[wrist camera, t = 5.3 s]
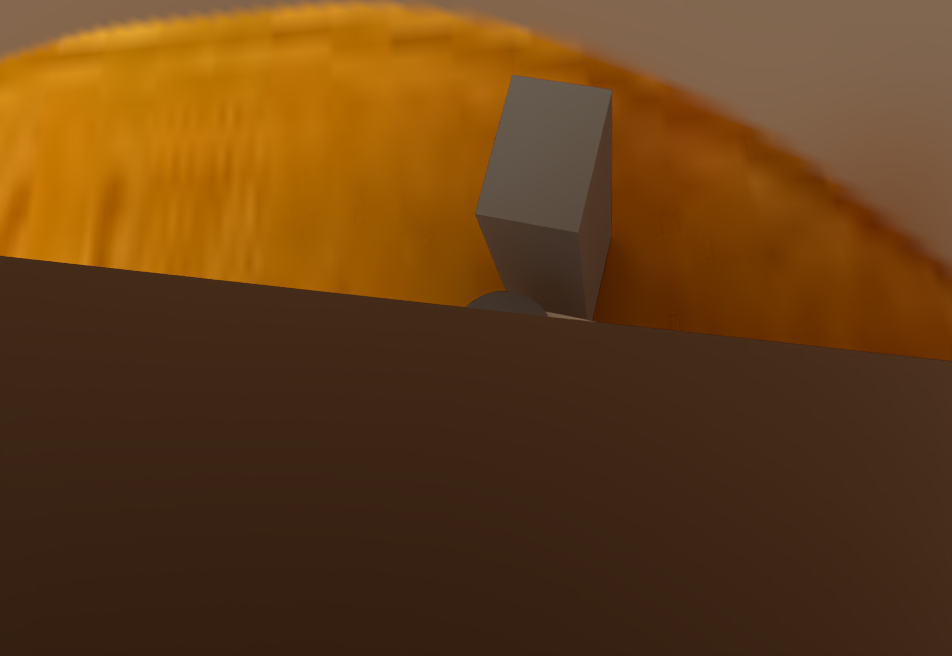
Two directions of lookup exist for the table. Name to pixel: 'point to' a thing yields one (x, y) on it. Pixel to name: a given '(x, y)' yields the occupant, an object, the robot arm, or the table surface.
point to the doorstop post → (451, 480)
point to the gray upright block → (551, 193)
